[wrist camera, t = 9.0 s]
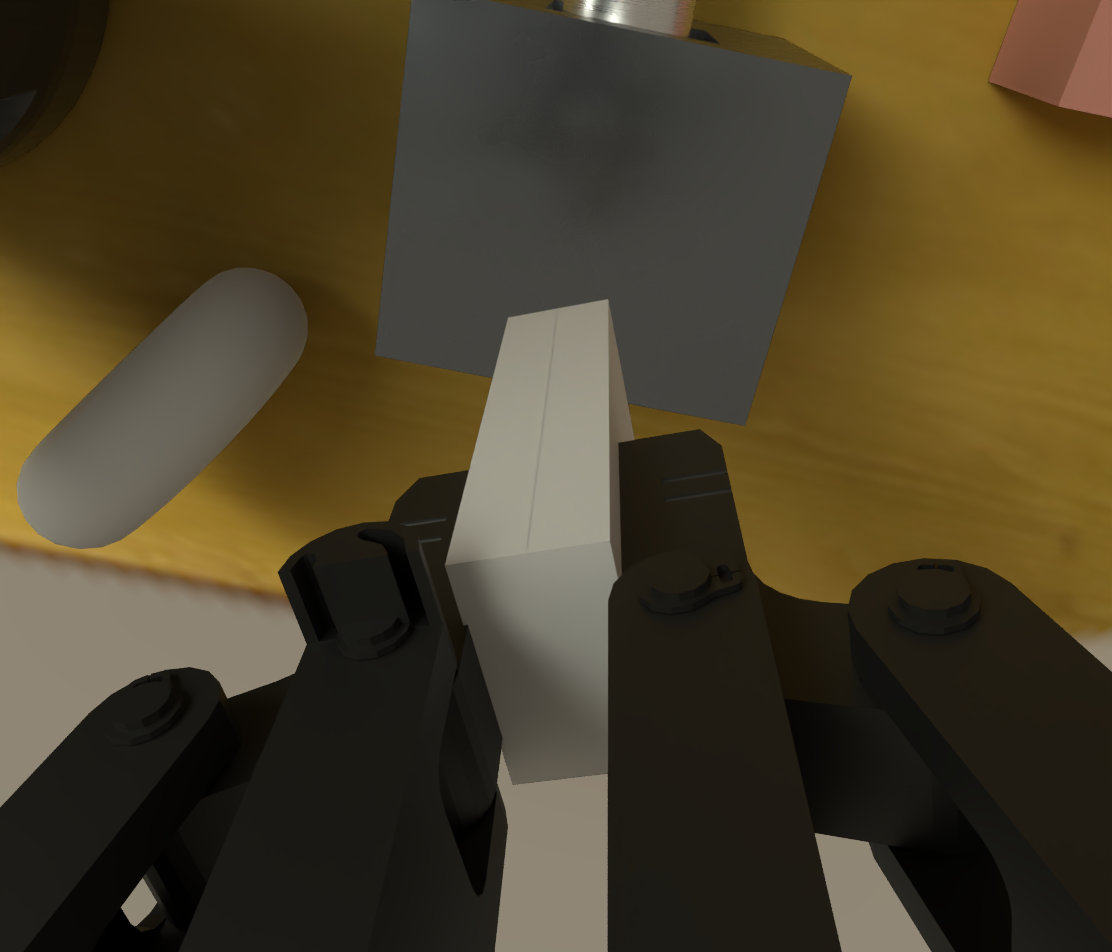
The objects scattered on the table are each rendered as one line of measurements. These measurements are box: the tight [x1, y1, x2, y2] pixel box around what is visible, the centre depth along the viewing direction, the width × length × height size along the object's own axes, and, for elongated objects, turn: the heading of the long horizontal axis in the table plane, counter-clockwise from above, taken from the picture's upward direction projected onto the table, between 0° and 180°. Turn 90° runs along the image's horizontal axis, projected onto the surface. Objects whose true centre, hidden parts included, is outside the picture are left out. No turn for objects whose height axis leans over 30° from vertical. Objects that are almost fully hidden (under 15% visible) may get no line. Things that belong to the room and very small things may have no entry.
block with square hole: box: [375, 0, 852, 426], centre depth 26 cm, size 9×8×9 cm
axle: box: [562, 0, 697, 38], centre depth 24 cm, size 3×14×3 cm, turn 170°
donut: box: [17, 268, 308, 549], centre depth 29 cm, size 10×4×10 cm, turn 130°
